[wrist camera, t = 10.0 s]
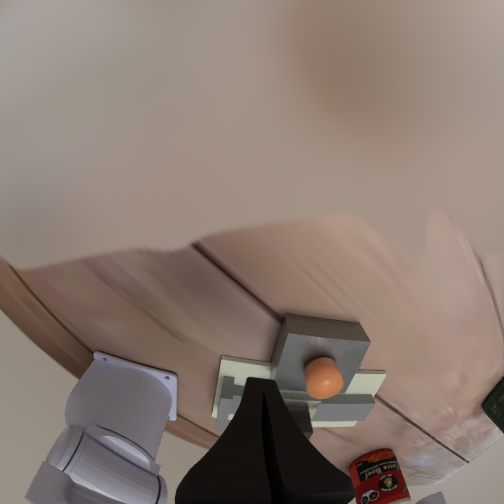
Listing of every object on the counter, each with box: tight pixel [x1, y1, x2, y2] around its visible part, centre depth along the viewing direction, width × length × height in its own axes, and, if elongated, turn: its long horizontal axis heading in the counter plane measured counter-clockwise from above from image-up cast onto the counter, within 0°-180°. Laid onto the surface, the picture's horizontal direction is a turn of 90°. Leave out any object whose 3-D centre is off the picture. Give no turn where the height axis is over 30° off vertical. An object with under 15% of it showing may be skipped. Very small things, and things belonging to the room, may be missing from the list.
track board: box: [212, 355, 387, 430], centre depth 24 cm, size 17×9×4 cm, turn 79°
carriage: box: [279, 389, 321, 440], centre depth 22 cm, size 5×6×6 cm
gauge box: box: [270, 313, 371, 393], centre depth 22 cm, size 7×6×3 cm
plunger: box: [304, 358, 344, 399], centre depth 19 cm, size 3×3×2 cm
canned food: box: [350, 449, 411, 504], centre depth 26 cm, size 8×8×11 cm
